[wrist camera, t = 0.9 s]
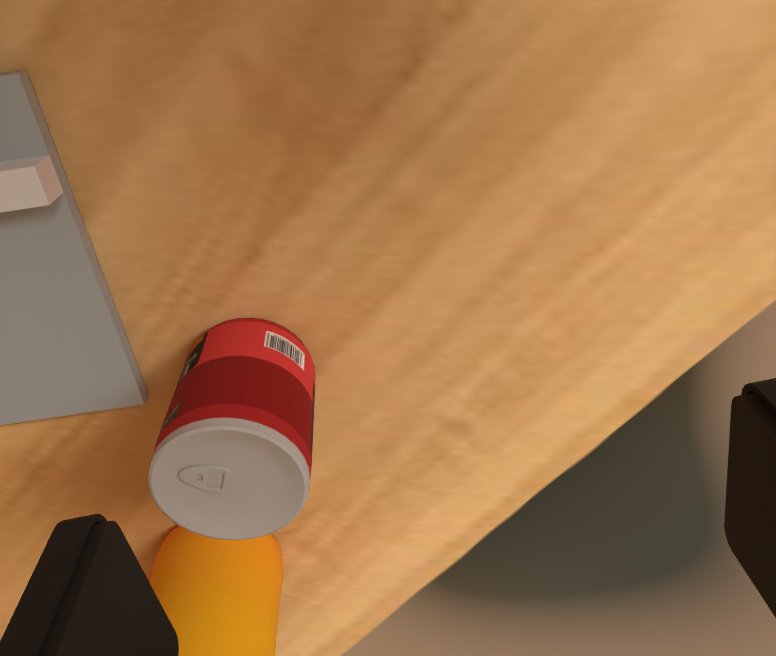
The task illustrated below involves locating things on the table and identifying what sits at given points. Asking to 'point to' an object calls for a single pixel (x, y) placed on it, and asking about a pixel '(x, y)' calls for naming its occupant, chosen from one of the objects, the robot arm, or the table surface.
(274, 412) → the canned food
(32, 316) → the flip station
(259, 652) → the beer bottle
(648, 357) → the table surface
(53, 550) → the robot arm
